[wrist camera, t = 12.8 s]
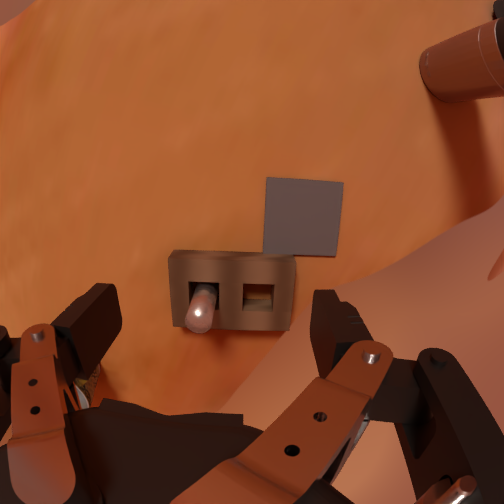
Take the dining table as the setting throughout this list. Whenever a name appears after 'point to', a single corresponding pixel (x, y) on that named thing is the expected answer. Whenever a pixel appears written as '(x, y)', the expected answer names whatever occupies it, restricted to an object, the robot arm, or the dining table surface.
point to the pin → (202, 307)
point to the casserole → (499, 8)
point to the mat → (302, 216)
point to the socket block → (234, 287)
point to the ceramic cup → (87, 388)
